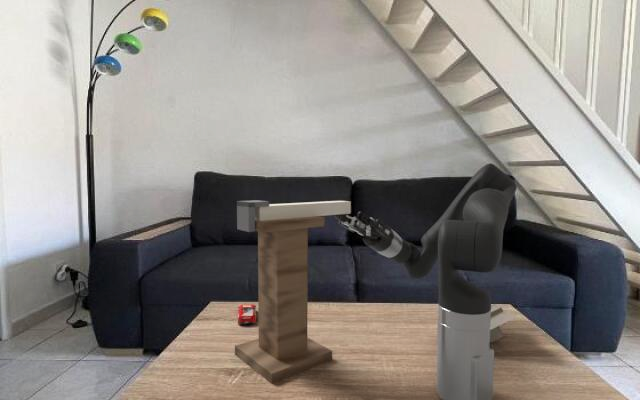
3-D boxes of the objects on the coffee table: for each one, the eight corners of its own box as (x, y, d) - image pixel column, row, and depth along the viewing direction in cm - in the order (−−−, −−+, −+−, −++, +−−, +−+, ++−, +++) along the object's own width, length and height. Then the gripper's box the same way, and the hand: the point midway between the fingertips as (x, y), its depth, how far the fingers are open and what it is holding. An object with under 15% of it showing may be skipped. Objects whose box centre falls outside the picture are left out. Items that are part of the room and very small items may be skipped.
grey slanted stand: (486, 376, 88) (536, 333, 89) (460, 345, 90) (509, 303, 90) (465, 354, 105) (507, 318, 105) (443, 328, 106) (484, 293, 106)
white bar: (351, 221, 97) (352, 197, 96) (248, 231, 78) (248, 202, 78) (338, 219, 101) (338, 196, 100) (237, 229, 82) (236, 201, 82)
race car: (238, 311, 119) (238, 298, 119) (256, 310, 120) (256, 297, 120) (235, 327, 106) (235, 313, 106) (256, 326, 107) (255, 312, 107)
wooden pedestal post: (332, 359, 87) (333, 218, 85) (271, 383, 77) (271, 224, 75) (291, 336, 100) (291, 212, 98) (234, 354, 90) (233, 217, 88)
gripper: (369, 225, 115) (333, 199, 105) (408, 230, 103) (372, 202, 94) (360, 248, 113) (322, 223, 103) (398, 256, 102) (360, 229, 92)
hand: (346, 213), depth 99 cm, fingers open, 8 cm apart
